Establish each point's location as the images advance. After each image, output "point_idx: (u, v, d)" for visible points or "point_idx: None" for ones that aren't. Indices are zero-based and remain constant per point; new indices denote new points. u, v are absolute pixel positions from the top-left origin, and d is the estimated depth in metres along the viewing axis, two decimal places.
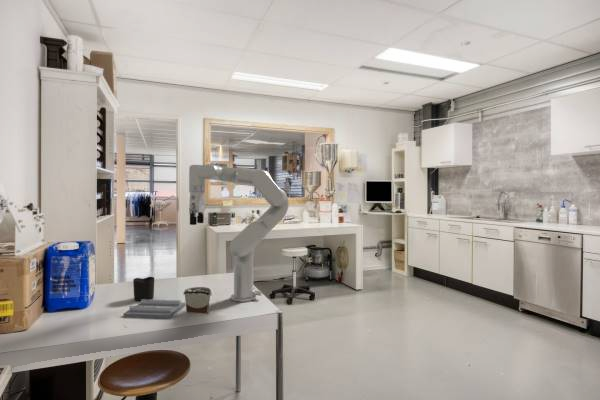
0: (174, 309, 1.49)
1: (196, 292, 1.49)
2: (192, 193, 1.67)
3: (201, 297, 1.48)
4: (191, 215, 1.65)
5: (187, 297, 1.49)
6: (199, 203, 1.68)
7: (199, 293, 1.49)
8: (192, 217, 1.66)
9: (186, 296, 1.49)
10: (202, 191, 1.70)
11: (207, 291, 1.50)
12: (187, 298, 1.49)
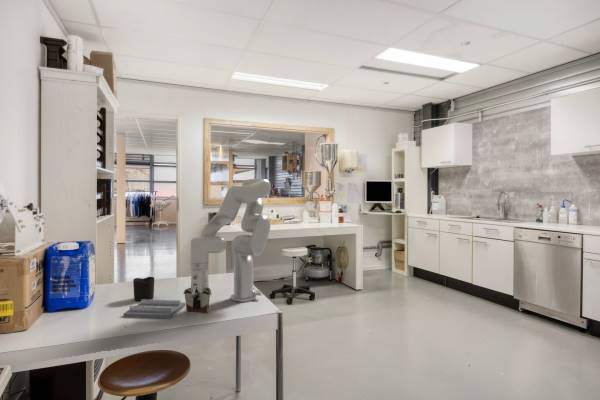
0: (174, 309, 1.49)
1: (196, 292, 1.49)
2: (194, 272, 1.47)
3: (201, 297, 1.49)
4: (194, 299, 1.47)
5: (187, 297, 1.49)
6: (202, 283, 1.48)
7: None
8: (195, 301, 1.47)
9: (186, 296, 1.49)
10: (205, 268, 1.49)
11: (207, 291, 1.50)
12: (187, 298, 1.49)
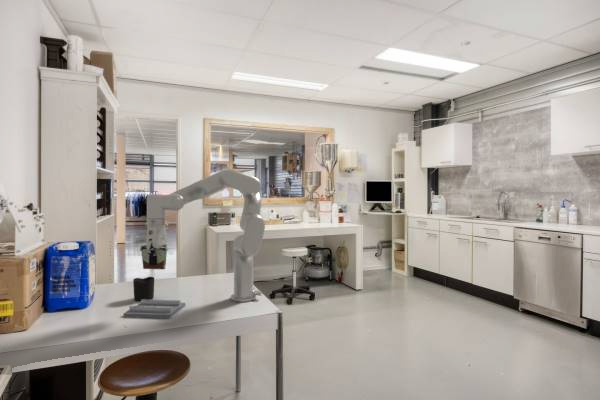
0: (174, 309, 1.49)
1: None
2: (149, 227, 1.46)
3: (157, 253, 1.48)
4: (150, 255, 1.46)
5: (143, 253, 1.49)
6: (158, 238, 1.47)
7: None
8: (151, 257, 1.47)
9: (142, 252, 1.49)
10: (162, 224, 1.49)
11: (164, 247, 1.50)
12: (144, 254, 1.49)
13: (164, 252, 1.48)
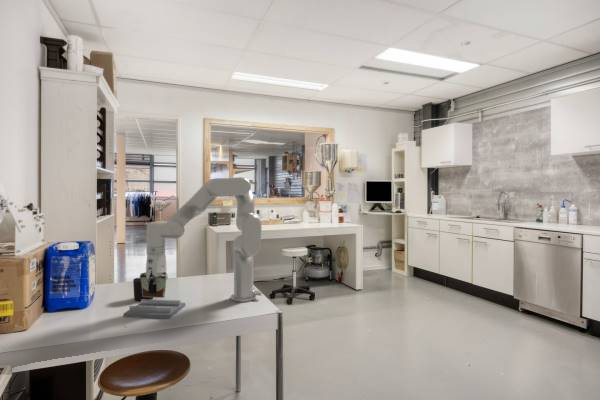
0: (174, 309, 1.49)
1: (152, 276, 1.48)
2: (149, 256, 1.46)
3: (157, 281, 1.48)
4: (150, 283, 1.46)
5: (143, 281, 1.49)
6: (158, 267, 1.47)
7: None
8: (151, 285, 1.47)
9: (142, 280, 1.49)
10: (161, 252, 1.49)
11: (163, 275, 1.50)
12: (143, 282, 1.49)
13: (163, 280, 1.48)
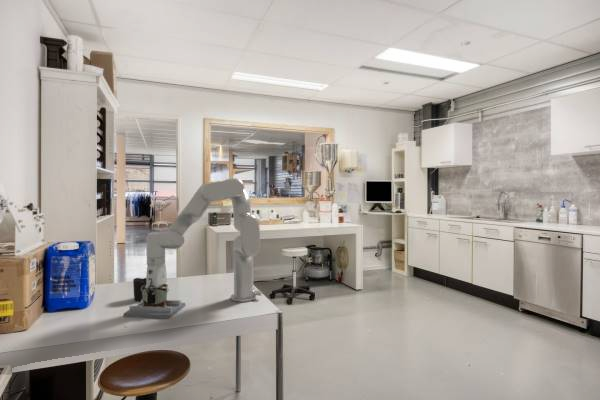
0: (174, 309, 1.49)
1: None
2: (149, 267, 1.46)
3: (158, 293, 1.48)
4: (148, 293, 1.45)
5: (144, 293, 1.49)
6: (158, 278, 1.47)
7: (156, 289, 1.49)
8: (150, 295, 1.46)
9: (143, 292, 1.49)
10: (161, 263, 1.49)
11: (164, 287, 1.50)
12: (144, 294, 1.49)
13: (165, 292, 1.48)
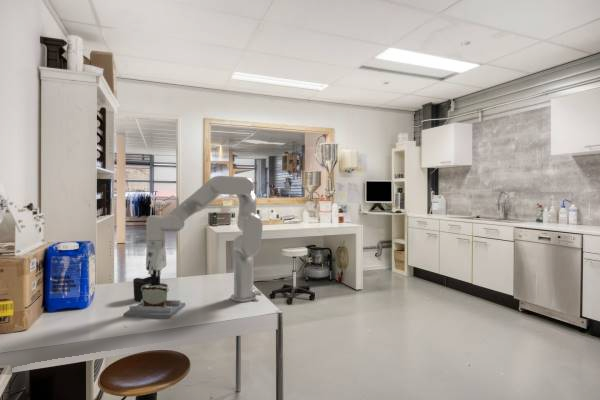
0: (174, 309, 1.49)
1: (153, 288, 1.49)
2: (149, 249, 1.46)
3: (158, 293, 1.49)
4: (152, 275, 1.49)
5: (144, 293, 1.49)
6: (158, 260, 1.47)
7: (156, 289, 1.49)
8: (154, 277, 1.49)
9: (143, 292, 1.49)
10: (161, 246, 1.49)
11: (164, 287, 1.50)
12: (144, 294, 1.49)
13: (165, 292, 1.48)
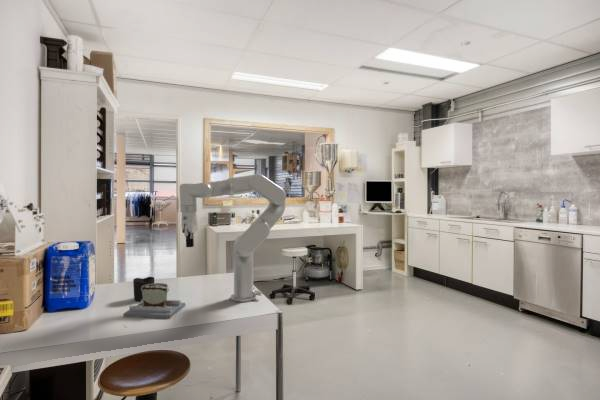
0: (174, 309, 1.49)
1: (153, 288, 1.49)
2: (184, 213, 1.61)
3: (158, 293, 1.49)
4: (187, 238, 1.64)
5: (144, 293, 1.49)
6: (192, 223, 1.62)
7: (156, 289, 1.49)
8: (188, 239, 1.64)
9: (143, 292, 1.49)
10: (194, 210, 1.64)
11: (164, 287, 1.50)
12: (144, 294, 1.49)
13: (165, 292, 1.48)
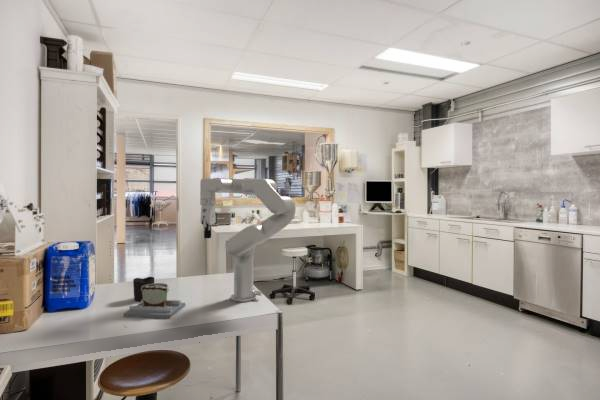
0: (174, 309, 1.49)
1: (153, 288, 1.49)
2: (203, 206, 1.72)
3: (158, 293, 1.49)
4: (205, 229, 1.74)
5: (144, 293, 1.49)
6: (210, 216, 1.73)
7: (156, 289, 1.49)
8: (206, 231, 1.75)
9: (143, 292, 1.49)
10: (213, 204, 1.74)
11: (164, 287, 1.50)
12: (144, 294, 1.49)
13: (165, 292, 1.48)
